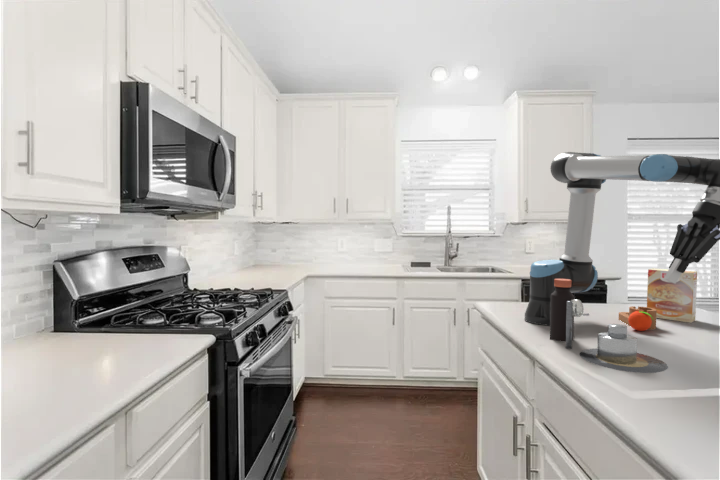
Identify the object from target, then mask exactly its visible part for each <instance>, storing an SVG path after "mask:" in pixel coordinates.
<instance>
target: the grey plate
mask: <svg viewBox="0 0 720 480" xmlns="http://www.w3.org/2000/svg"><path fill="white" fill-rule="evenodd" d="M579 357H581V358H582V359H583V360H585V361H586V362H589V363H592V364H593V365H597V366H600V367H603V368H607V369H612V370H616V371H622V372H630V373H640V374H642V373H643V374H645V373H646V374H648V373H649V374H651V373H653V374H654V373H661V372H665V371H666V370H668V367H669V366H668V365H667V363H666V362H664V361H663V360H660V359H658V358H656V357H653V356H651V355H648V354H644V353H641V352H640V353H639V352H637V362H636V363H635V364H628V365H626V364H616V363H611V362H607V361H604V360H601V359H599V358H598V357H597V348H588V349H587V348H586V349H583V350H581V351H580V352H579Z"/></svg>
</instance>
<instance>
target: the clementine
mask: <svg viewBox="0 0 720 480" xmlns="http://www.w3.org/2000/svg"><path fill="white" fill-rule="evenodd" d="M650 316H651V315H650V314H648V313H646V312H642V311H635V312H633V313H632V314H630V316H629V318H628V322H629V324H630V326H631V328H632V329H633V330H636V331H638V332H639V331H640V332H644V331H647V330H648V329H649V328H650V326H651V324H652V320H651V317H652V316H651V317H650ZM652 319H653V318H652ZM653 321H654V320H653ZM630 326H629V327H630Z"/></svg>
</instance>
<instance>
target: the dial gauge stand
mask: <svg viewBox="0 0 720 480" xmlns="http://www.w3.org/2000/svg"><path fill="white" fill-rule="evenodd" d="M584 310H585V309H584V304H583V302H582V301H581V300H580V299H577V298H576V299H575V298H574V299H573V300H571V301H567V313H566V342H565V349H567V350H572V348H573V341H572V319H573V316H574V318H579V317H583V316H584V317H585V316H586V317H588V316H590V312H589V313H584Z"/></svg>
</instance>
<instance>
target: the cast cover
mask: <svg viewBox="0 0 720 480" xmlns="http://www.w3.org/2000/svg"><path fill="white" fill-rule="evenodd" d="M637 353H638V338H637V337H635V336H632V335H629V334H628V325H626V324H625V325H624V324H619V323H608V324H607V332H600V333H598V334H597V357H598V358H599V359H601V360H604V361H607V362H611V363H616V364H626V365H628V364H635V363H636V362H637Z"/></svg>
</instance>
